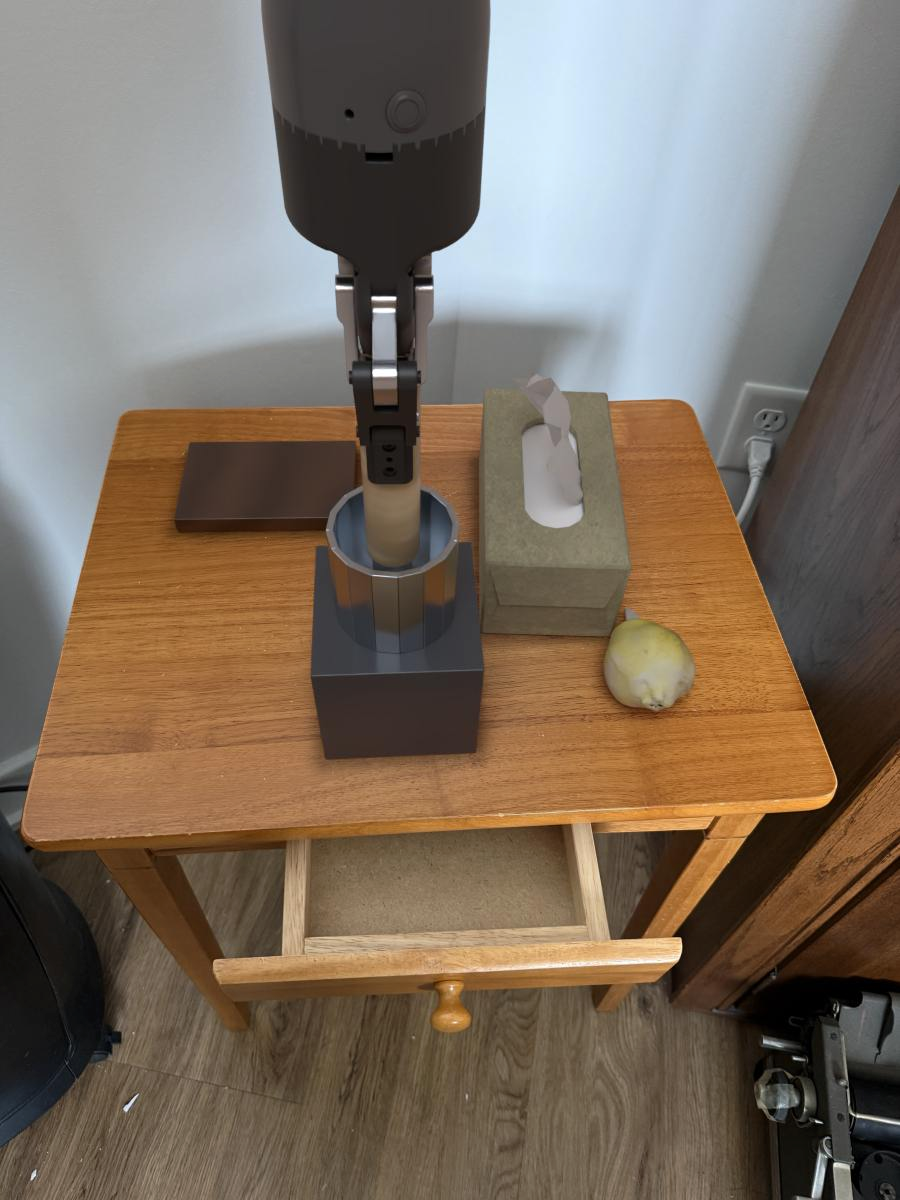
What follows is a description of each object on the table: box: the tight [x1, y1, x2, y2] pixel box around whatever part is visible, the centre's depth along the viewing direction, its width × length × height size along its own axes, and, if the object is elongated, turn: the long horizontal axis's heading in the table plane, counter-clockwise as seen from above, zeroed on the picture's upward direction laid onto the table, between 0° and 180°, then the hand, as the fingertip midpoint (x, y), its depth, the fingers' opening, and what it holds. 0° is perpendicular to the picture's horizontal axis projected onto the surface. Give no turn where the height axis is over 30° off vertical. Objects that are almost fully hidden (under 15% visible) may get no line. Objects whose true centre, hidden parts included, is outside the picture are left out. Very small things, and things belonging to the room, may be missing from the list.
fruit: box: [603, 607, 697, 712], centre depth 62 cm, size 6×6×10 cm
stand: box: [309, 541, 485, 760], centre depth 58 cm, size 10×10×10 cm
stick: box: [359, 356, 422, 567], centre depth 45 cm, size 3×3×12 cm
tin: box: [325, 483, 461, 654], centre depth 51 cm, size 7×7×7 cm
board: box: [173, 440, 358, 533], centre depth 73 cm, size 14×9×2 cm, turn 92°
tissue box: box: [478, 372, 633, 638], centre depth 65 cm, size 19×10×16 cm, turn 179°
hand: (390, 453), depth 44 cm, fingers closed on stick, 3 cm apart
